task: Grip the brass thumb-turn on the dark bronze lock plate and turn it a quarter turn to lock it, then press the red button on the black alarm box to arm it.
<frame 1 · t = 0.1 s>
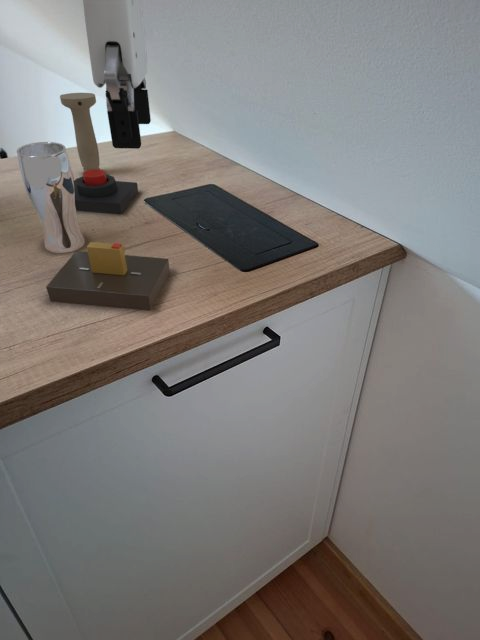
hand: (133, 134, 60), 20 cm above the worktop, tool pointing down, fingers open, 9 cm apart
beer glass: (65, 245, 79), on the worktop
alarm box: (99, 201, 92), on the worktop
lock plate: (113, 287, 70), on the worktop
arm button: (95, 177, 89), point 4 cm above the worktop, slide at 0.1 cm
thumb turn: (107, 258, 67), point 5 cm above the worktop, hinge at 0.0°
handle: (92, 175, 103), on the worktop
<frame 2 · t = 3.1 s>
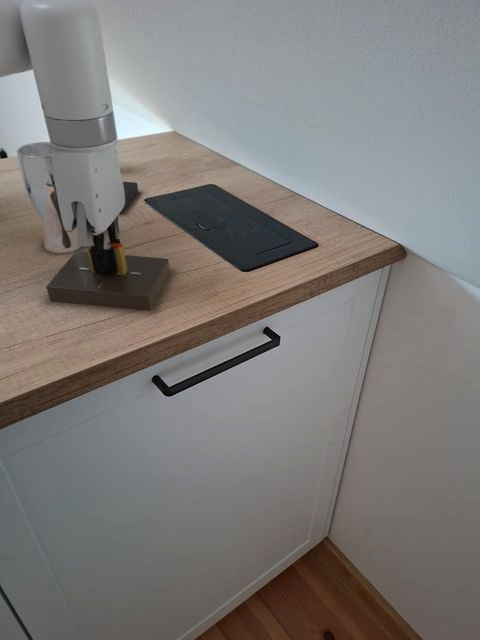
hand: (109, 267, 68), 3 cm above the worktop, tool pointing down, fingers closed
thumb turn: (107, 258, 67), point 5 cm above the worktop, hinge at 0.0°, touching gripper
everything else where it was.
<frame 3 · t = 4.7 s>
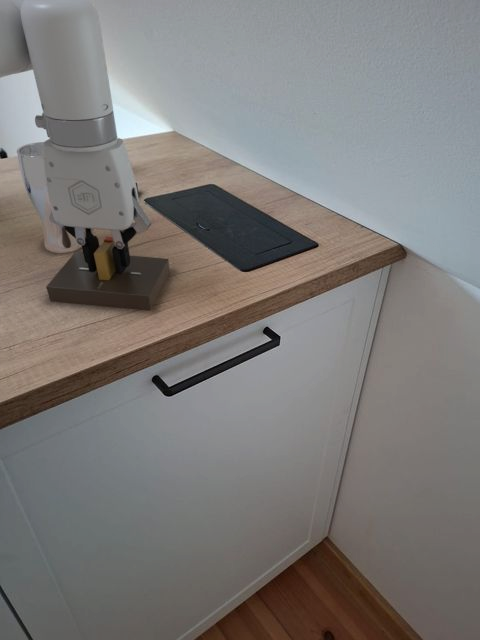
hand: (109, 267, 68), 3 cm above the worktop, tool pointing down, fingers open, 3 cm apart
thumb turn: (107, 258, 67), point 5 cm above the worktop, hinge at 90.0°
everything else where it was.
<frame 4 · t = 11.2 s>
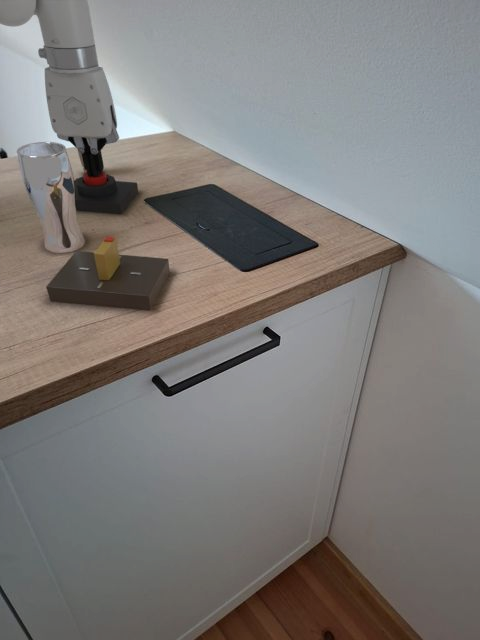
hand: (95, 173, 89), 5 cm above the worktop, tool pointing down, fingers closed
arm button: (95, 178, 89), point 4 cm above the worktop, slide at -0.1 cm, touching gripper
everything else where it was.
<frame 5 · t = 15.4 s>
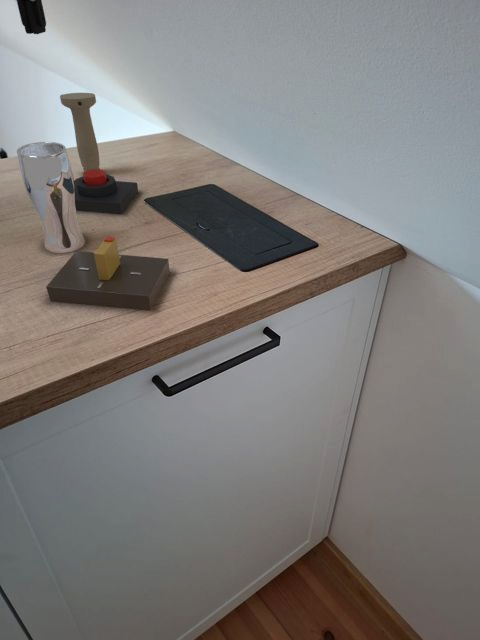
hand: (36, 32, 73), 27 cm above the worktop, tool pointing down, fingers closed
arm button: (95, 177, 89), point 4 cm above the worktop, slide at 0.1 cm
everything else where it was.
at the end: thumb turn at +90° (first picture: +0°); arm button pushed in 1.1 cm at the most during the clip, back to where it started at the end; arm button slide at 0.1 cm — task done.
